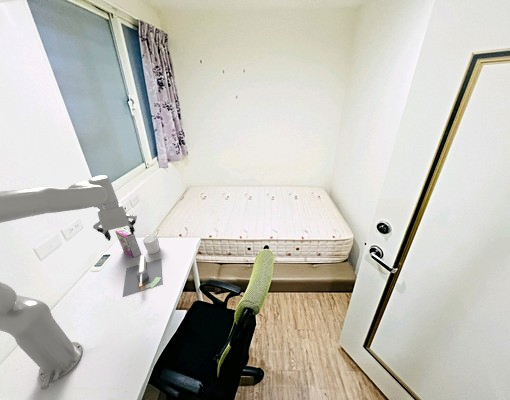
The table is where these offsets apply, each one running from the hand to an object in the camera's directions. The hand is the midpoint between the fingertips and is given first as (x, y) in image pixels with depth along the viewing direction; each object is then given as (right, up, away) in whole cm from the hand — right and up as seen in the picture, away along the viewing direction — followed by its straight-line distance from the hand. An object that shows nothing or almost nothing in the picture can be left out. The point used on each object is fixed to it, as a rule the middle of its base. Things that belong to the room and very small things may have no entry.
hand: (121, 235), depth 103 cm
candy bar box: (-11, -16, +29) cm, 35 cm away
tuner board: (+5, -24, +12) cm, 27 cm away
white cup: (+2, -15, +30) cm, 34 cm away
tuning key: (+4, -22, +12) cm, 26 cm away
